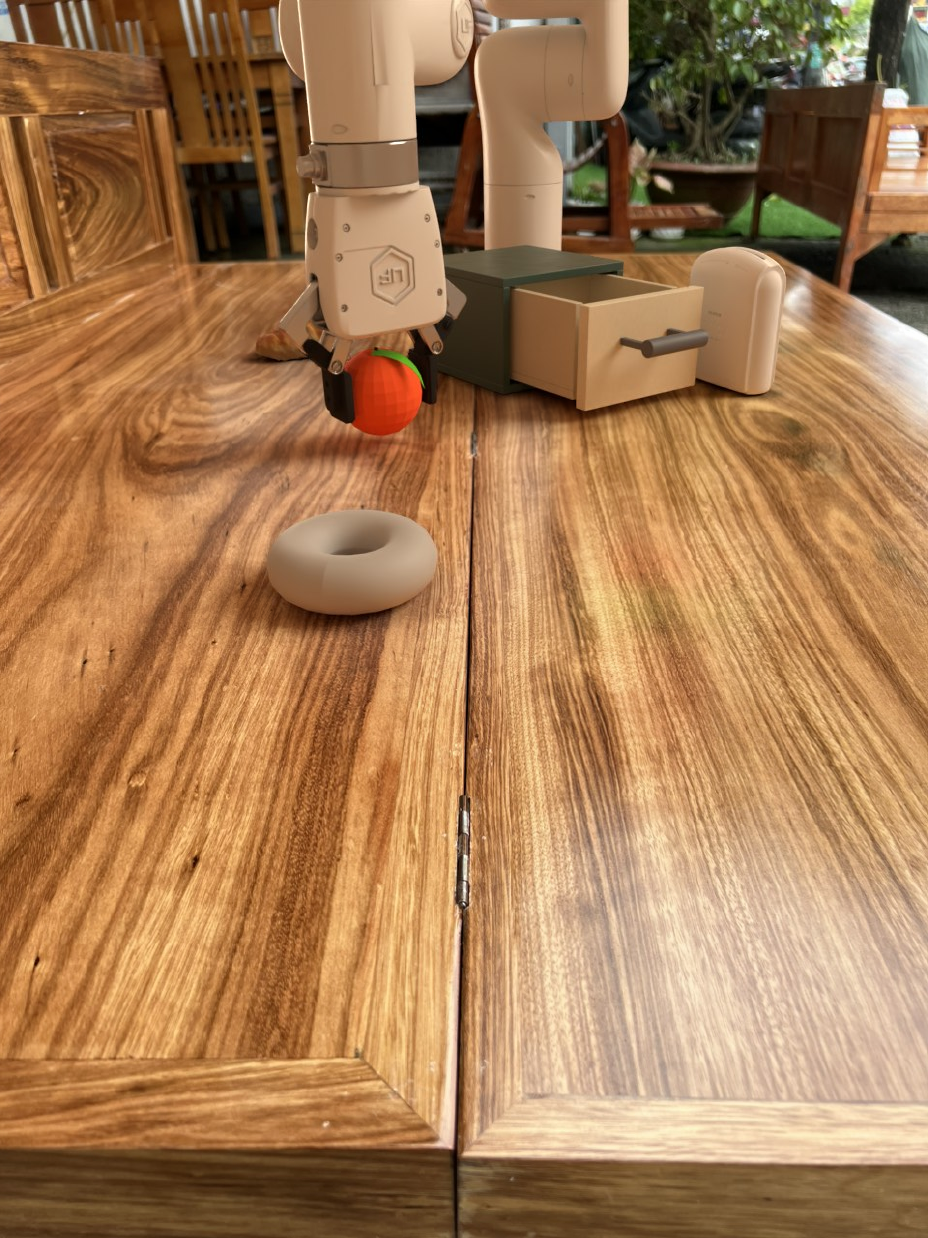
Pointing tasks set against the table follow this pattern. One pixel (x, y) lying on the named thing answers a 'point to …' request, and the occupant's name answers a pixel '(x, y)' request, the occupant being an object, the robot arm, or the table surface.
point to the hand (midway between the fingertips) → (383, 407)
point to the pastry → (283, 344)
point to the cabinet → (501, 306)
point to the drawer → (605, 337)
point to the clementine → (384, 391)
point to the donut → (352, 562)
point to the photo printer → (739, 317)
